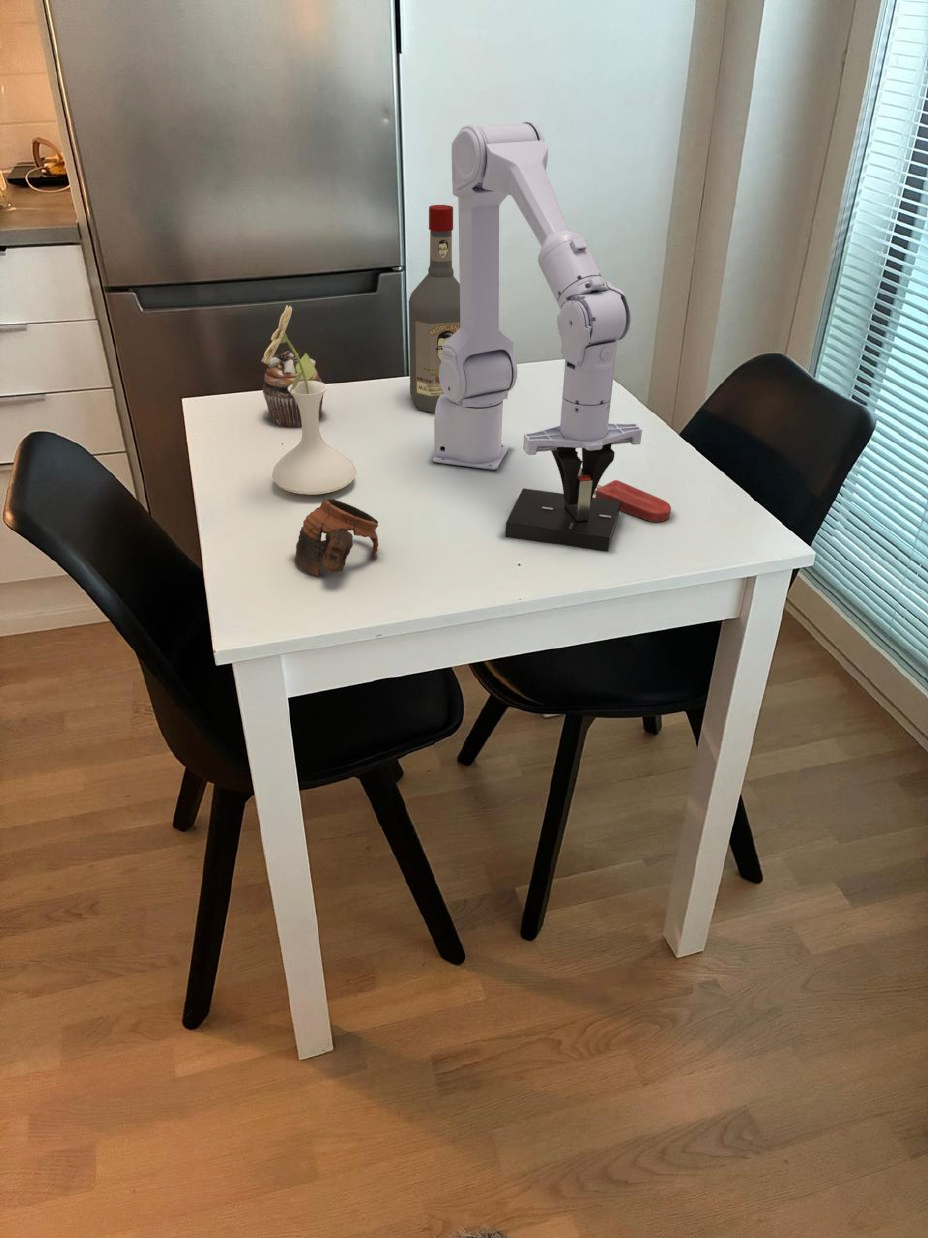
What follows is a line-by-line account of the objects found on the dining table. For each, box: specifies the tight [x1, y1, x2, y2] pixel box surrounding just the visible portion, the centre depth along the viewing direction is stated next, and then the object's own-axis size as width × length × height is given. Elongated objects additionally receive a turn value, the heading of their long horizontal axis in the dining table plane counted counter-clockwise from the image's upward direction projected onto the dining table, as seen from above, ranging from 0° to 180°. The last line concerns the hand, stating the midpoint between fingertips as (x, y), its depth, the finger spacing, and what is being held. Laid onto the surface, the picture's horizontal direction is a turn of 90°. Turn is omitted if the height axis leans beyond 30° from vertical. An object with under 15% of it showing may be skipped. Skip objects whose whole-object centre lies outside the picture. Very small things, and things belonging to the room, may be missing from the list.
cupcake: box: [261, 349, 324, 428], centre depth 147 cm, size 10×10×10 cm
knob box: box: [504, 487, 621, 552], centre depth 121 cm, size 13×10×2 cm
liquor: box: [408, 204, 460, 414], centre depth 148 cm, size 9×9×30 cm
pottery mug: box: [294, 497, 379, 577], centre depth 112 cm, size 12×10×8 cm
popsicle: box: [594, 479, 672, 523], centre depth 127 cm, size 4×2×15 cm
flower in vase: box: [261, 304, 357, 496], centre depth 123 cm, size 13×11×25 cm
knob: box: [564, 466, 592, 521], centre depth 119 cm, size 5×2×6 cm, turn 15°
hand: (577, 500), depth 119 cm, fingers closed on knob, 2 cm apart
